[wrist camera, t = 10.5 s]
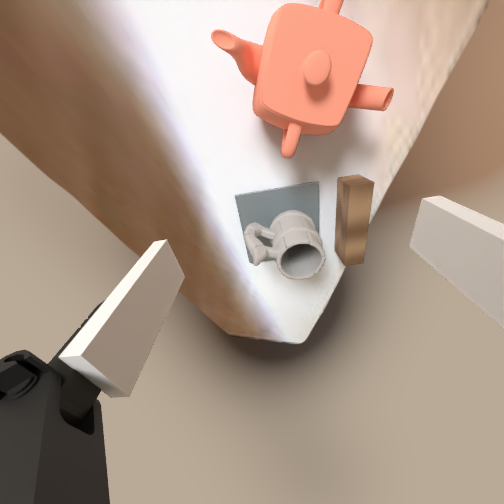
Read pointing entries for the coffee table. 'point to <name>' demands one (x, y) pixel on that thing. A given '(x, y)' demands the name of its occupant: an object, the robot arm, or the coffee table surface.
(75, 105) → the coffee table surface
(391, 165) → the coffee table surface
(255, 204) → the plate
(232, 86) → the coffee table surface
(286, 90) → the teapot
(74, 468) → the robot arm
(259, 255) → the mug
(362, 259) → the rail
